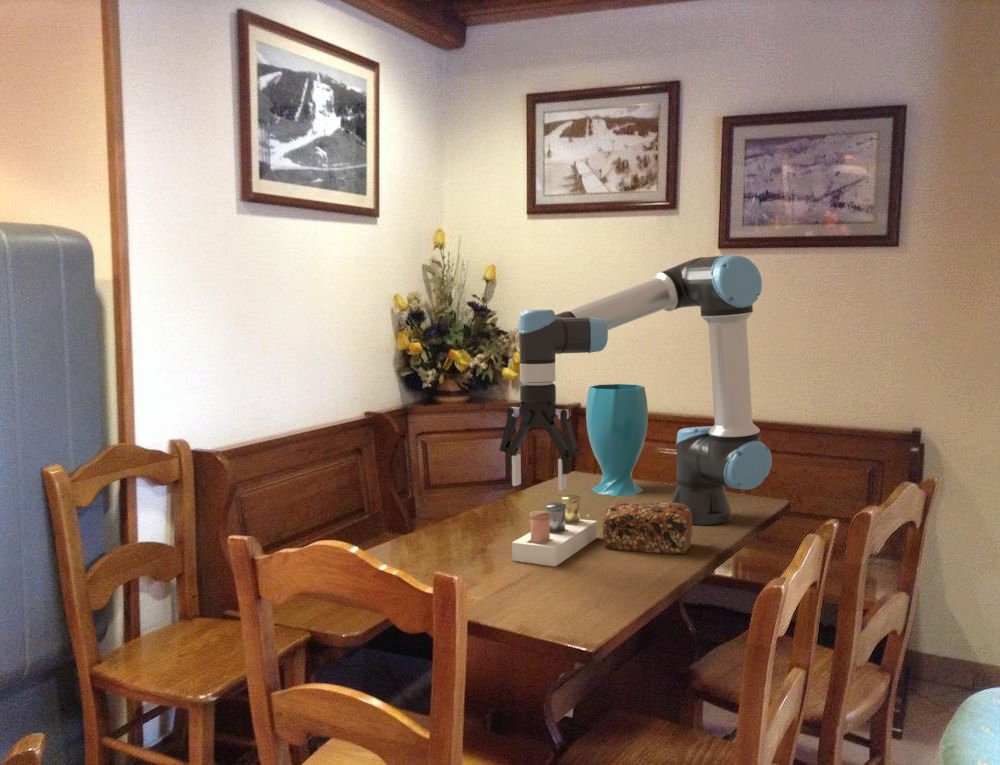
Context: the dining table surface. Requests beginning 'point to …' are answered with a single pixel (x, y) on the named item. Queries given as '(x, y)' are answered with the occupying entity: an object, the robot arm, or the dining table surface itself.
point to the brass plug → (571, 508)
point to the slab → (555, 544)
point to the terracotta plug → (540, 526)
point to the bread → (648, 527)
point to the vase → (617, 434)
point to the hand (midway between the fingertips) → (539, 486)
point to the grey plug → (556, 517)
